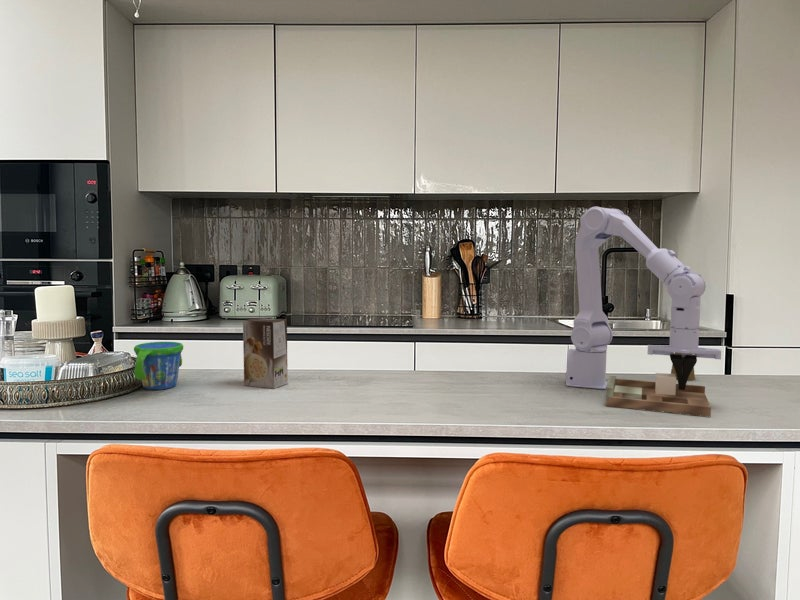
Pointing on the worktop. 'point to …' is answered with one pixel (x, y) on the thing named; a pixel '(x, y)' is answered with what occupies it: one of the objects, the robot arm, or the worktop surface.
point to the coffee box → (265, 352)
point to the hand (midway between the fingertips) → (681, 388)
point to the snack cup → (158, 364)
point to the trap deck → (656, 397)
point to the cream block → (665, 384)
